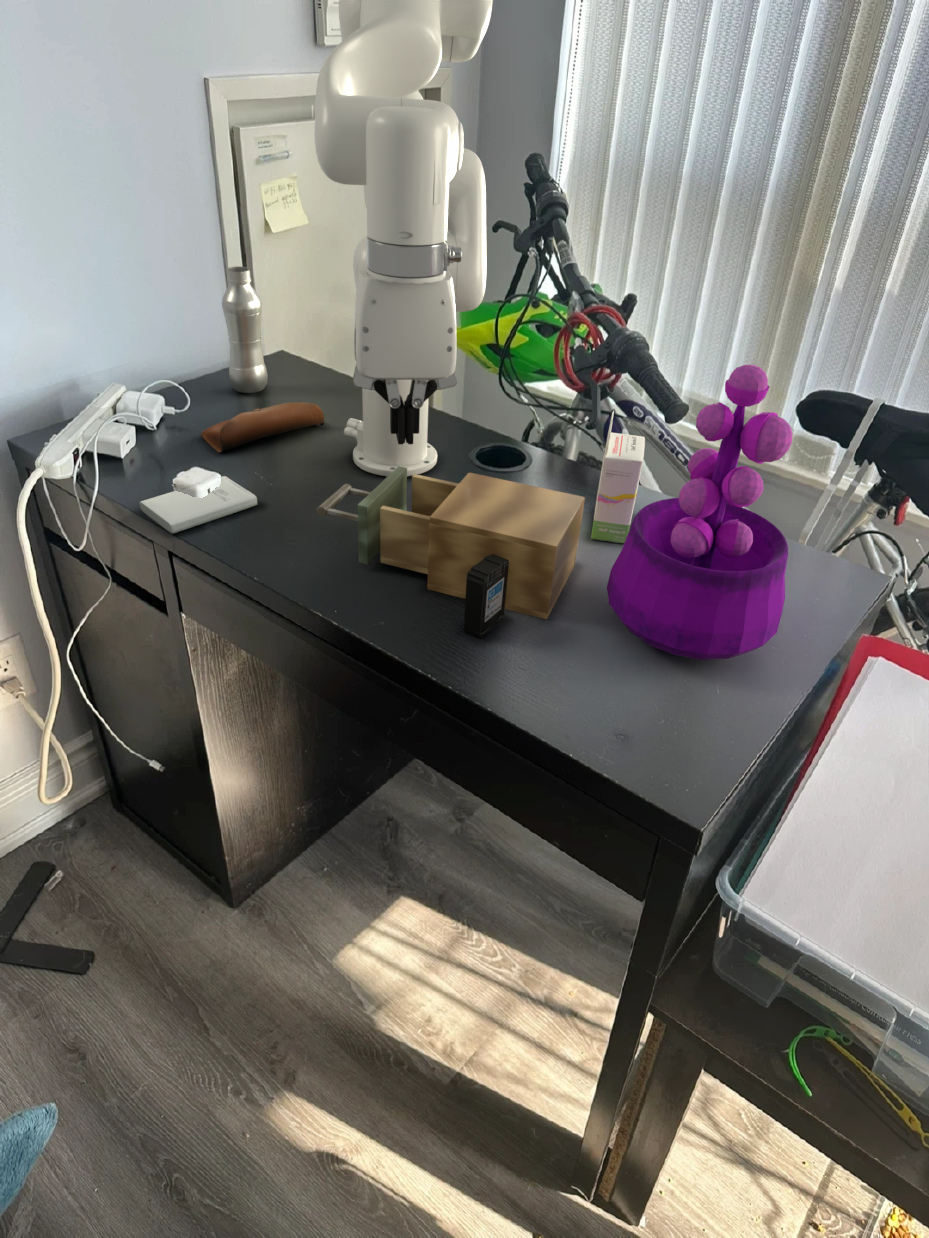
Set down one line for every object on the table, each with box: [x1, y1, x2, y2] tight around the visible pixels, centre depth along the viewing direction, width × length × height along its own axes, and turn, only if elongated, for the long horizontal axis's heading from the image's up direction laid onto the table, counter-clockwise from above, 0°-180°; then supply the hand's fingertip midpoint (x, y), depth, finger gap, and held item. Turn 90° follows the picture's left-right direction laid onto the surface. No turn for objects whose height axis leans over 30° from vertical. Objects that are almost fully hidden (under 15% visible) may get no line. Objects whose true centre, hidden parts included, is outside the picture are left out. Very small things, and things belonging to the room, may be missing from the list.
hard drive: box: [139, 475, 258, 535], centre depth 110 cm, size 2×8×12 cm
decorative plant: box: [606, 364, 794, 661], centre depth 86 cm, size 19×18×30 cm
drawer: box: [316, 466, 459, 575], centre depth 102 cm, size 20×11×8 cm, turn 70°
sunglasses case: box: [200, 401, 325, 454], centre depth 130 cm, size 18×7×7 cm
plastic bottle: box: [221, 265, 269, 394], centre depth 140 cm, size 6×7×20 cm
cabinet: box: [426, 472, 586, 620], centre depth 98 cm, size 15×13×10 cm
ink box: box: [590, 410, 646, 544], centre depth 108 cm, size 9×5×15 cm, turn 168°
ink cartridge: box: [463, 554, 509, 639], centre depth 90 cm, size 5×2×8 cm, turn 146°
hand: (404, 439), depth 90 cm, fingers closed
